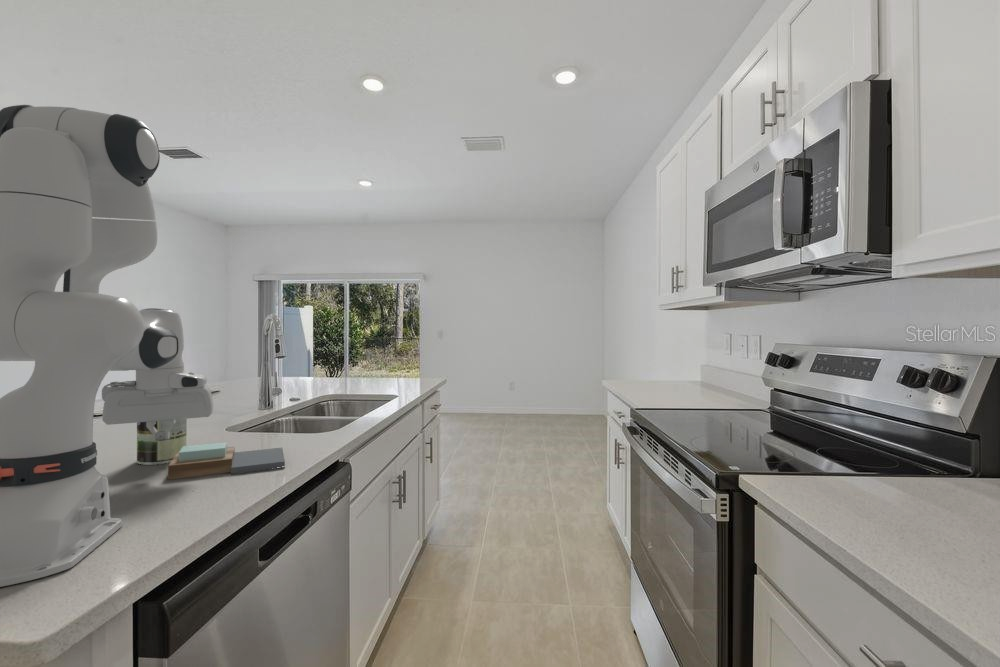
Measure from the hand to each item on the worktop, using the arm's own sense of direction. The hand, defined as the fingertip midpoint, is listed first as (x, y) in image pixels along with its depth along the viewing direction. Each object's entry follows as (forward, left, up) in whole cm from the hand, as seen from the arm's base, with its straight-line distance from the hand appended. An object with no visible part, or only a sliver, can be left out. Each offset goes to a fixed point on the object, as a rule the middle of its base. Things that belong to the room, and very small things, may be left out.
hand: (161, 439), depth 103 cm
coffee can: (+12, +2, -8) cm, 15 cm away
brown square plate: (-1, -8, -8) cm, 11 cm away
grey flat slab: (-2, -20, -8) cm, 21 cm away
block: (-1, -8, -5) cm, 9 cm away
